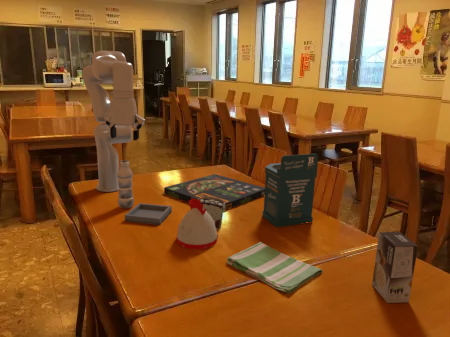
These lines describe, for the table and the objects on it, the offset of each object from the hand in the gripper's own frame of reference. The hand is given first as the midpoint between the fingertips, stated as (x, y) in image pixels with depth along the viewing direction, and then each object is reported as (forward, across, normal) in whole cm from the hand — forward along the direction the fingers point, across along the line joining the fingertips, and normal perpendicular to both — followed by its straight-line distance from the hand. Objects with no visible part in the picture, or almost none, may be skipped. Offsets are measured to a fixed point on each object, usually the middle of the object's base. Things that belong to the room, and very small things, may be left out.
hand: (124, 138), depth 149 cm
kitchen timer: (+29, +38, -20) cm, 51 cm away
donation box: (+29, +65, +10) cm, 72 cm away
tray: (+29, +13, -6) cm, 32 cm away
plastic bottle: (+30, -1, +1) cm, 30 cm away
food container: (+29, +39, -5) cm, 49 cm away
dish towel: (+28, +65, -32) cm, 78 cm away
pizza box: (+31, +31, +31) cm, 53 cm away
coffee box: (+27, +98, -36) cm, 107 cm away
